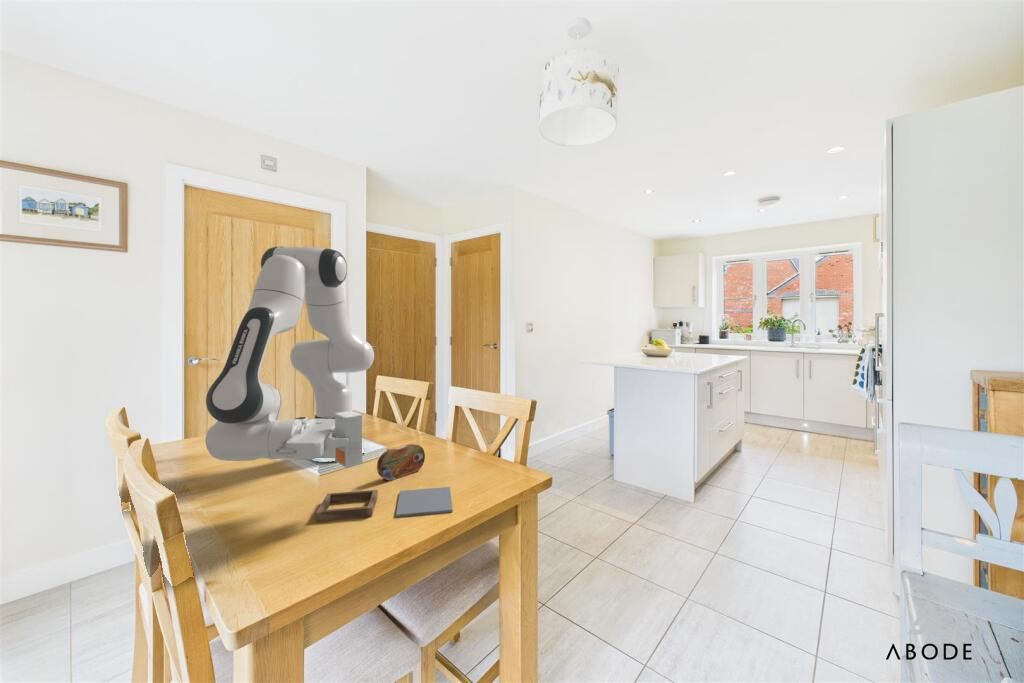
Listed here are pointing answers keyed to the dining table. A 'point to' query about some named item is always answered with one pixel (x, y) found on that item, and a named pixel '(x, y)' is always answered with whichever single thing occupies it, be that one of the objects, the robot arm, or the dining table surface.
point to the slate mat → (424, 502)
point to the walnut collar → (347, 513)
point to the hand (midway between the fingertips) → (352, 435)
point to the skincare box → (352, 428)
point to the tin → (400, 462)
